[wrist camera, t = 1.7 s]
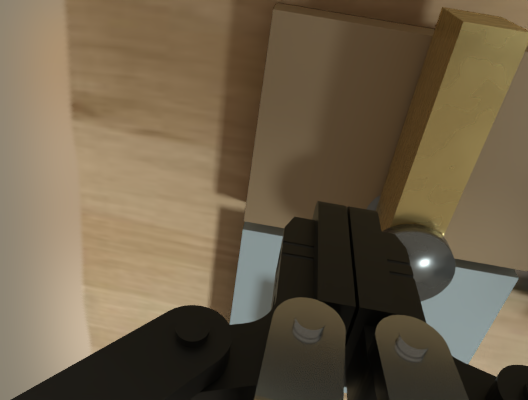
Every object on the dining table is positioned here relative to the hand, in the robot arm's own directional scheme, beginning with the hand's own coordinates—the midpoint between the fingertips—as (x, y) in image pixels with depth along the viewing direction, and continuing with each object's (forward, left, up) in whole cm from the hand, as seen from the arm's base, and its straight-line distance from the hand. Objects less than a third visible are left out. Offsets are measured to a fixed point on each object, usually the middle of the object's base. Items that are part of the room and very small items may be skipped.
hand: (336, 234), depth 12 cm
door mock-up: (-7, +12, -19) cm, 23 cm away
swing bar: (-7, +4, -16) cm, 17 cm away
